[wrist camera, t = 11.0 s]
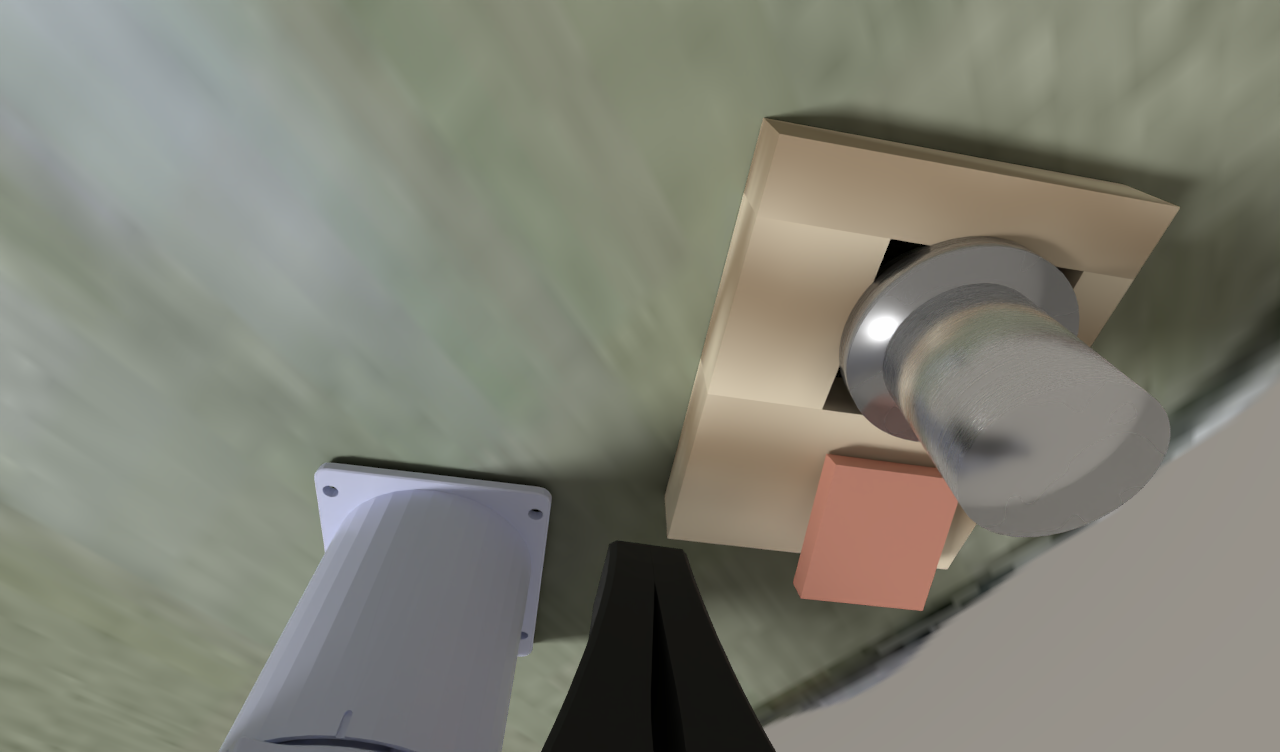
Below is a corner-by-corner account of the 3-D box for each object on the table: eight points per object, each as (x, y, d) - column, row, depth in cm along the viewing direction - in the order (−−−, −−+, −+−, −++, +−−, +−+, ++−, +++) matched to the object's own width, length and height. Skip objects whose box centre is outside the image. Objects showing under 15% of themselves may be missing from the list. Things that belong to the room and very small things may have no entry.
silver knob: (969, 401, 20) (1111, 576, 14) (797, 379, 19) (870, 551, 14) (1062, 230, 17) (1293, 362, 11) (861, 197, 16) (993, 317, 10)
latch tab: (910, 595, 20) (922, 611, 19) (792, 582, 20) (800, 598, 19) (950, 469, 19) (965, 481, 18) (826, 453, 19) (835, 464, 18)
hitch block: (924, 527, 23) (947, 569, 22) (664, 496, 22) (667, 538, 21) (1123, 184, 17) (1180, 207, 15) (763, 117, 15) (779, 133, 14)
